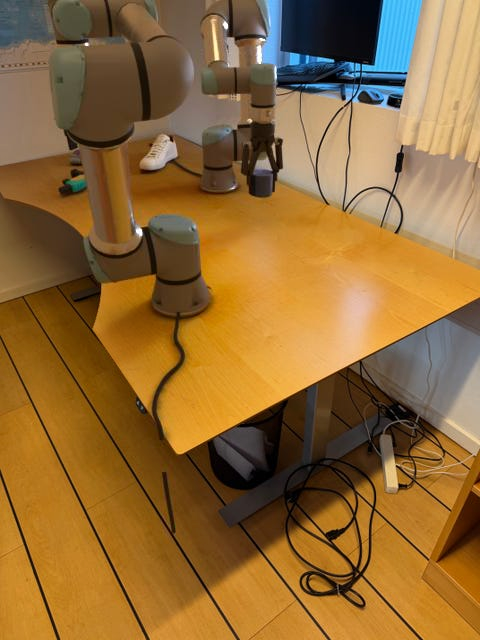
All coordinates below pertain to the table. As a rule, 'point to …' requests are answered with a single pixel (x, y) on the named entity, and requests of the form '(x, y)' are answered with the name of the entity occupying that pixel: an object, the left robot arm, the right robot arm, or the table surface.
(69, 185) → the toy gun
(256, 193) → the cylinder
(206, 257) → the table surface
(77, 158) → the toy gun
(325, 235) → the table surface
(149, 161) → the sneaker
